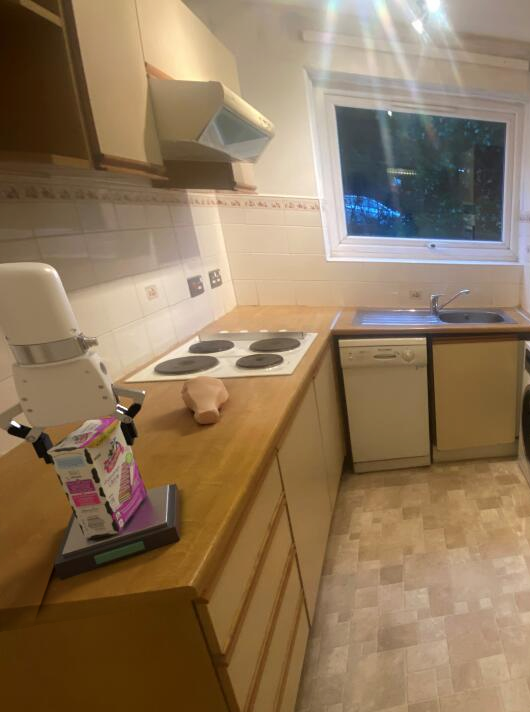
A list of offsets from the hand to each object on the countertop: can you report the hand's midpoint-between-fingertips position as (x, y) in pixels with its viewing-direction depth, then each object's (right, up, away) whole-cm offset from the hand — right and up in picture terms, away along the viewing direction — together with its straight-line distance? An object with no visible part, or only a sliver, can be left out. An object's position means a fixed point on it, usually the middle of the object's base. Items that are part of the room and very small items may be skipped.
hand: (93, 450), depth 70 cm
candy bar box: (0, -12, +5) cm, 13 cm away
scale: (0, -16, +6) cm, 17 cm away
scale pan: (0, -13, +5) cm, 14 cm away
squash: (-17, +3, +51) cm, 54 cm away
